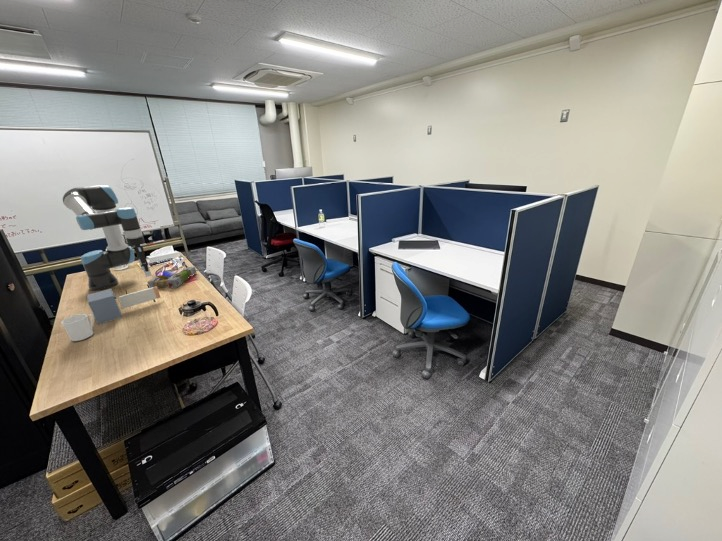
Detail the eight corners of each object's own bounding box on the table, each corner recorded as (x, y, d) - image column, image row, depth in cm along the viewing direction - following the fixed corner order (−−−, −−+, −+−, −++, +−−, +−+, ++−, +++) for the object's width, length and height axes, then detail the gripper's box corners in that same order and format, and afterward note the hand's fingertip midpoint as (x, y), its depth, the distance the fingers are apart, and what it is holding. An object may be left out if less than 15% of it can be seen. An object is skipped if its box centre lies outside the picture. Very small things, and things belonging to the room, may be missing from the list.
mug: (74, 344, 134) (64, 326, 130) (67, 339, 138) (58, 320, 134) (103, 332, 142) (95, 314, 138) (96, 327, 147) (88, 310, 143)
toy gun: (172, 276, 211) (199, 274, 210) (147, 292, 185) (177, 290, 185) (169, 267, 208) (197, 265, 208) (143, 282, 183) (174, 280, 182)
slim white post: (122, 307, 160) (118, 296, 158) (160, 296, 171) (156, 286, 169) (122, 308, 159) (118, 297, 157) (160, 297, 170) (157, 286, 168)
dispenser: (96, 315, 158) (87, 294, 153) (120, 308, 164) (112, 288, 159) (97, 324, 149) (88, 302, 144) (123, 316, 156) (114, 295, 151)
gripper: (123, 233, 162) (135, 268, 171) (128, 243, 145) (142, 281, 154) (139, 231, 167) (150, 265, 175) (146, 240, 150) (158, 277, 159)
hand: (146, 272), depth 165 cm, fingers open, 13 cm apart
